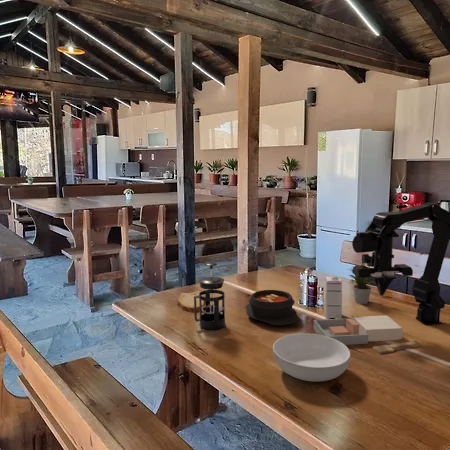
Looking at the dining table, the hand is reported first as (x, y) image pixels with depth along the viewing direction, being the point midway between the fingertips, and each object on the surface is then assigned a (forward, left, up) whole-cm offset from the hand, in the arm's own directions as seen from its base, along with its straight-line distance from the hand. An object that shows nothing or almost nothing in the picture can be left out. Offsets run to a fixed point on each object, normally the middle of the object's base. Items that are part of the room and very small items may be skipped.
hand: (381, 295), depth 141 cm
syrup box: (+12, -13, -12) cm, 21 cm away
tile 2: (+11, +6, -9) cm, 16 cm away
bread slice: (+64, -34, -13) cm, 73 cm away
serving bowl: (+32, +26, -12) cm, 43 cm away
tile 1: (+16, +4, -10) cm, 19 cm away
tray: (+15, +4, -12) cm, 20 cm away
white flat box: (+3, +4, -12) cm, 13 cm away
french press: (+58, -9, -12) cm, 60 cm away
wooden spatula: (+1, +15, -12) cm, 19 cm away
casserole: (+35, -15, -12) cm, 40 cm away
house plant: (-4, -26, -12) cm, 29 cm away
